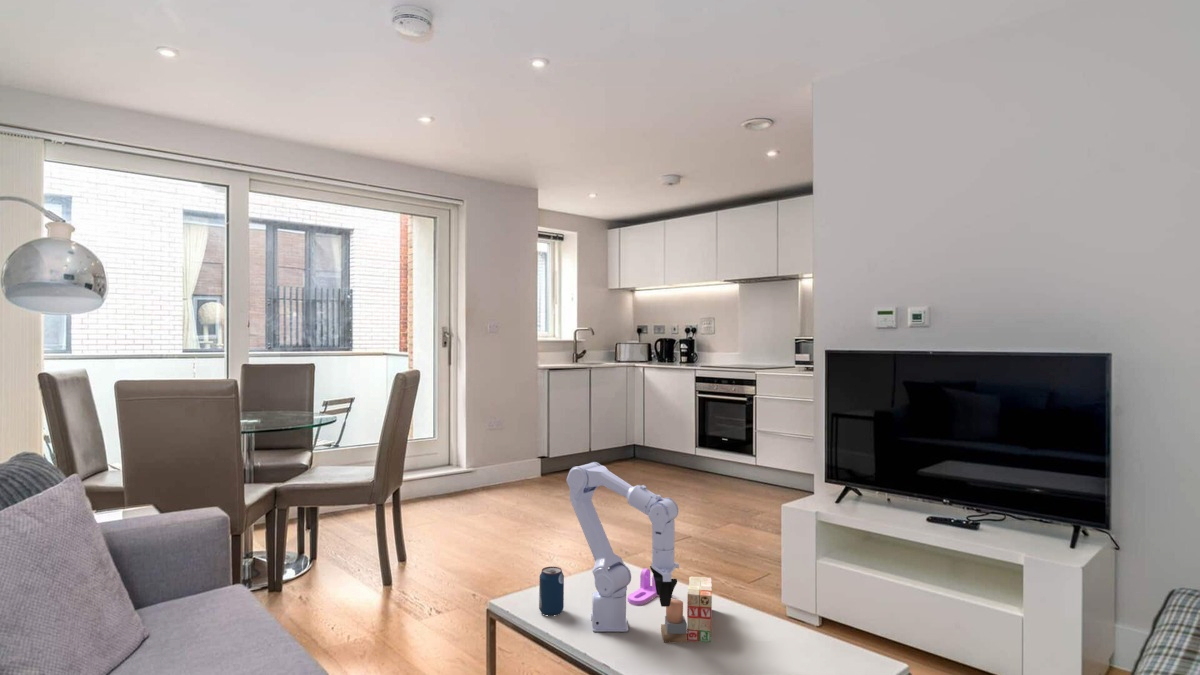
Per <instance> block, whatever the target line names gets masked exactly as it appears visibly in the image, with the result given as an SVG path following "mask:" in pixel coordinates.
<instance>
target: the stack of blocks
mask: <svg viewBox="0 0 1200 675" xmlns="http://www.w3.org/2000/svg"><path fill="white" fill-rule="evenodd" d="M688 578H689V580H688V587H687V606H686V608H687V610H686V614H687V620H686V623H687V641H690V642H691V641H692V642H704V643H705V642H706V643H711V642H712V630H713V628H712V625H713V624H712V622H713V620H712V618H713V616H712V615H713V614H712V612H713V610H712V608H713V604H712V602H713V601H712V600H713V599H712V598H713V594H712V593H713V589H712V588H713V584H712V577H705V576H689V577H688Z"/></svg>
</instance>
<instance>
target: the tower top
mask: <svg viewBox="0 0 1200 675" xmlns="http://www.w3.org/2000/svg"><path fill="white" fill-rule="evenodd" d="M664 624H665V627H666V631H667V634H687V620H686V618H685V616H684V615H683V621H682V622H681V623H670V622H668V621H667V620H666V615H665V616H664Z"/></svg>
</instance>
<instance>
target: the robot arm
mask: <svg viewBox="0 0 1200 675" xmlns="http://www.w3.org/2000/svg"><path fill="white" fill-rule="evenodd" d="M565 482H566V484H567V485H568V488H569V498H570V500H569V501H570V502H571V506H572V509H573V511H574V513H575V516H576V518H577V520H578V523H579V525H580V527H581V530H582V532H583V535H584V537H585V540H586V542H587V545H588V547H589V549H590V553H591V554H592V557H593V559H594V562H595V563H594V566H593V569H592V574H593V577H594V586H595V589H596V592H595V591H594V592H592V598H591V599H592V602H591V603H592V605H591V606H592V608H591V610H592V612H591V614H590V621H591V623H592V625H591V626H592V631H593V632H596V633H598V632H599V633H602V632H604V633H605V632H611V633H612V632H616V633H617V632H629V626H628V625H629V624H628V620H627V619H628V618H627V591H628V585H630V583H631V581H632V572H631V570H630V568H629V567H628V566H627V565H626V564H625V563H624V561H623V558H622V557H621V556H619V555H618V554H616V553H615V552H614V550H613V548H612V546H611V543H610V541H609V539H608V536H607V534H606V531H605V529H604V526H603V524H602V523H601V520H600V517H599V515H598V513H597V510H596V507H595V506H594V504H593V503H594V502H593V501H592V498H593V497H594V493H595V491H596V490H597V489H598V487H600V486H601V487H602V486H603V487H605V488H607V489H608V490H610V491H612V492H614V493H616V494H618V495H621V496H622V497H624V498H626V499H627V504H629V506H631V507H633V508H635V509H636V510H638V511H639V512H641V513H643V514H644V515H647V517H648V519H649V521H650V522H651V532H652V533H651V534H652V535H651V538H652V540H651V542H652V543H651V544H652V549H651V551H652V552H651V555H652V556H651V557H652V558H651V561H652V562H651V565H650V566H649V567H650V571H651V573H652V577H653V576H654V580H655V586H656V591H657V595H658V598H659V603H660V606H661V607H664V608H666V607H669V606H670V602H671V599H672V597H673V592H674V590H675V587H676V585H677V584H678V578H672V575H673V572H674V570H675V569H678V568H680V565H679V562H675V543H676V542H675V539H676V538H675V532H676V531H675V526H676V525H675V523H676V522H675V521H676V520H675V519H677V517H678V515H679V507H678V504H677V503H676V502H675V500H674V499H672V498H671V497H664V498H663V497H662V495H660V494H656V493H654V492H652V491H650V489H647V486H646V485H645V484H642V485H640V484H637V485H635V486H632V485H631V484H630V483H628V482H627V481H625V480H623V479H622V478H621V477H619V476H617V475H616V474H614V473H613V472H611V471H610V470H609V469H608V468H607V467H606V466H605V465H602V464H601V463H599V462H597V461H592V462H589V463H586V464H582V465H579V466H573V467H572V468H571V469H569V471H568V474H567V477H566V480H565Z"/></svg>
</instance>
